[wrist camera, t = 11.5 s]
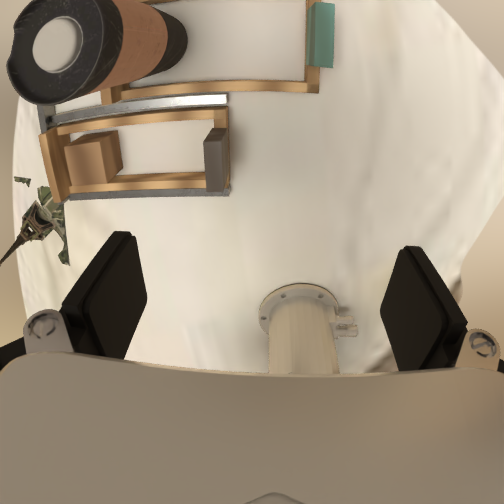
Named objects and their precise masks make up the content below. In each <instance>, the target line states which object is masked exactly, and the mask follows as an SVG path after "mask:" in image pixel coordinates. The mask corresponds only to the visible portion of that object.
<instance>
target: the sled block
mask: <svg viewBox="0 0 504 504" xmlns="http://www.w3.org/2000/svg"><path fill="white" fill-rule="evenodd" d="M201 119H214V128H212V130H211V131H210V133H209V134H208V136H207V137H206V139H205V140H204V142H203V146H204V163H205V172H188V173H158V174H138V175H121V176H114V177H113V178H112V179H111V180H110V181H109V182H108V183H107V184H93V185H79V186H72V183H71V179H70V174H69V170H68V165H67V160H66V155H65V150H64V146H66V145H68V144H69V143H70V137H69V133H75V132H81V131H88V130H94V129H101V128H108V127H116V126H124V125H133V124H143V123H154V122H166V121H181V120H201ZM38 136H39V142H40V147H41V151H42V156H43V161H44V165H45V169H46V174H47V178H48V182H49V186H50V190H51V193H52V197H53V201H54V203H59V202H62V201H63V200H64V199H65V198H66V197H67V196H68V195H69V194H71V193H85V192H101V191H120V190H144V189H180V188H206V192H223V191H224V188H228V185H229V181H230V169H229V134H228V106H209V107H189V108H174V109H162V110H151V111H141V112H133V113H125V114H117V115H110V116H103V117H97V118H91V119H85V120H79V121H74V122H69V123H64V124H60V125H58V126H56V127H54V128H52V129H50V130H48V131H46V132H44V133H42V134H40V135H38Z"/></svg>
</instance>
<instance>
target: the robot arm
mask: <svg viewBox="0 0 504 504" xmlns="http://www.w3.org/2000/svg"><path fill="white" fill-rule="evenodd" d="M146 303H147V292H146V288H145V283H144V278H143V273H142V268H141V263H140V257H139V252H138V246H137V240H136V237H135V236H132V234H131V233H130V232H127V231H114V232H113V233H112V235H111V236H110V237H109V238H108V240H107V241H106V242H105V244H104V245H103V246H102V248H101V249H100V250H99V252H98V253H97V254H96V256H95V257H94V258H93V260H92V261H91V262H90V264H89V265H88V266H87V268H86V269H85V271H84V272H83V273H82V275H81V276H80V278H79V279H78V280H77V282H76V283H75V285H74V286H73V288H72V289H71V291H70V292H69V293H68V295H67V296H66V298H65V299H64V301H63V302H62V307H61V309H60V310H59V312H58V311H56V310H53V309H46V310H42V311H39V312H37V313H35V314H33V315H32V316H31V317H30V318H29V319H28V320H27V322H26V323H25V325H24V328H23V334H24V337H22V338H20V339H18V340H15V341H13V342H11V343H9V344H7V345H5V346H3V347H0V504H504V361H503V360H501V359H500V358H499V357H500V346H499V344H498V342H497V341H496V339H495V338H494V337H493V336H492V335H491V334H490V333H488V332H487V331H484V330H482V329H471V330H469V331H468V330H467V328H466V325H467V323H468V322H467V320H466V318H465V317H464V315H463V313H462V311H461V310H460V308H459V306H458V304H457V303H456V301H455V299H454V298H453V296H452V294H451V293H450V291H449V289H448V288H447V286H446V285H445V283H444V281H443V280H442V278H441V277H440V275H439V274H438V272H437V270H436V269H435V267H434V266H433V264H432V263H431V261H430V260H429V258H428V257H427V255H426V254H425V252H424V251H423V249H422V248H421V247H419V246H405V247H404V248H403V249H401V250H400V251H399V253H398V256H397V259H396V262H395V266H394V269H393V272H392V275H391V278H390V281H389V284H388V287H387V290H386V293H385V296H384V299H383V301H382V304H381V308H380V315H381V318H382V321H383V324H384V326H385V329H386V332H387V335H388V338H389V341H390V344H391V347H392V350H393V353H394V356H395V360H396V363H397V366H398V369H399V371H398V372H382V373H360V374H340V372H339V365H338V359H337V354H336V348H335V342H334V339H338V337H356V336H357V334H358V327H357V325H353V322H354V319H353V316H344V317H339V309H338V304H337V302H336V299H335V298H334V297H333V295H332V294H330V293H329V292H328V291H327V290H325V289H323V288H321V287H318V286H315V285H309V284H296V285H290V286H286V287H283V288H280V289H278V290H276V291H274V292H273V293H271V294H270V295H269V296H268V297H267V298H266V299H265V300H264V301H263V303H262V304H261V306H260V309H259V323H260V326H261V327H262V329H263V331H264V332H265V333H267V334H268V335H269V373H249V372H232V371H218V370H206V369H195V368H185V367H176V366H167V365H159V364H151V363H144V362H137V361H129V360H124V358H125V355H126V352H127V350H128V347H129V345H130V342H131V340H132V337H133V335H134V332H135V330H136V328H137V325H138V323H139V320H140V318H141V316H142V313H143V311H144V308H145V306H146ZM340 324H344V325H345V326H338V325H340Z"/></svg>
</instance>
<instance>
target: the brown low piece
mask: <svg viewBox="0 0 504 504" xmlns="http://www.w3.org/2000/svg"><path fill="white" fill-rule="evenodd" d="M134 1H137V2H141V3H144V4H147V5H150V4H156V3H162V2H169V1H176V0H134ZM334 15H335V4H331V3H323V2H321V0H306V40H305V78H304V81H286V80H215V81H196V82H182V83H171V84H161V85H152V86H144V87H136V88H129V83H125V84H121V85H117V86H114V87H110V88H107V89H103V90H100V92H101V102H102V106H103V105H109V104H113V103H115V102H118V101H120V100H125V99H132V98H140V97H148V96H158V95H168V94H180V93H194V92H214V91H284V92H304V93H319V75H320V67H326V68H333V54H334Z"/></svg>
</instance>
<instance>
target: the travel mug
mask: <svg viewBox="0 0 504 504" xmlns="http://www.w3.org/2000/svg"><path fill="white" fill-rule="evenodd" d="M14 33H15V34H14V40H13V45H12V51H11V55H10V57H9V59H8V61H7V64H6V67H7V73H8V76H9V79H10V81H11V83H12V85H13V87H14V89H15V90H16V91H17V93H18V94H19V95H20V96H21V97H22V98H24V99H25V100H27V101H28V102H30V103H33V104H36V105H40V106H51V105H57V104H61V103H64V102H67V101H69V100H72V99H75V98H78V97H81V96H84V95H87V94H90V93H94V92H97V91H100V90H103V89H107V88H110V87H114V86H117V85H121V84H125V83H129V82H132V81H136V80H139V79H142V78H145V77H148V76H151V75H154V74H157V73H160V72H162V71H165V70H167V69H169V68H171V67H173V66H174V65H175V64H176V63H177V62H178V61H179V60H180V59H181V58H182V56H183V54H184V53H185V50H186V47H187V33H186V30H185V28H184V26H183V25H182V24H181V23H180V22H179V21H178V20H177V19H176V18H174V17H172V16H170V15H169V14H166V13H164V12H162V11H160V10H158V9H156V8H154V7H151V6H149V5H147V4H144V3H141V2H137V1H134V0H33V1H31V2H30V3H29V4H28V5H27V6H26V7H25V8H24V9H23V11H22V12H21V13H20V15H19V16H18V18H17V19H16V21H15V23H14Z"/></svg>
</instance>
